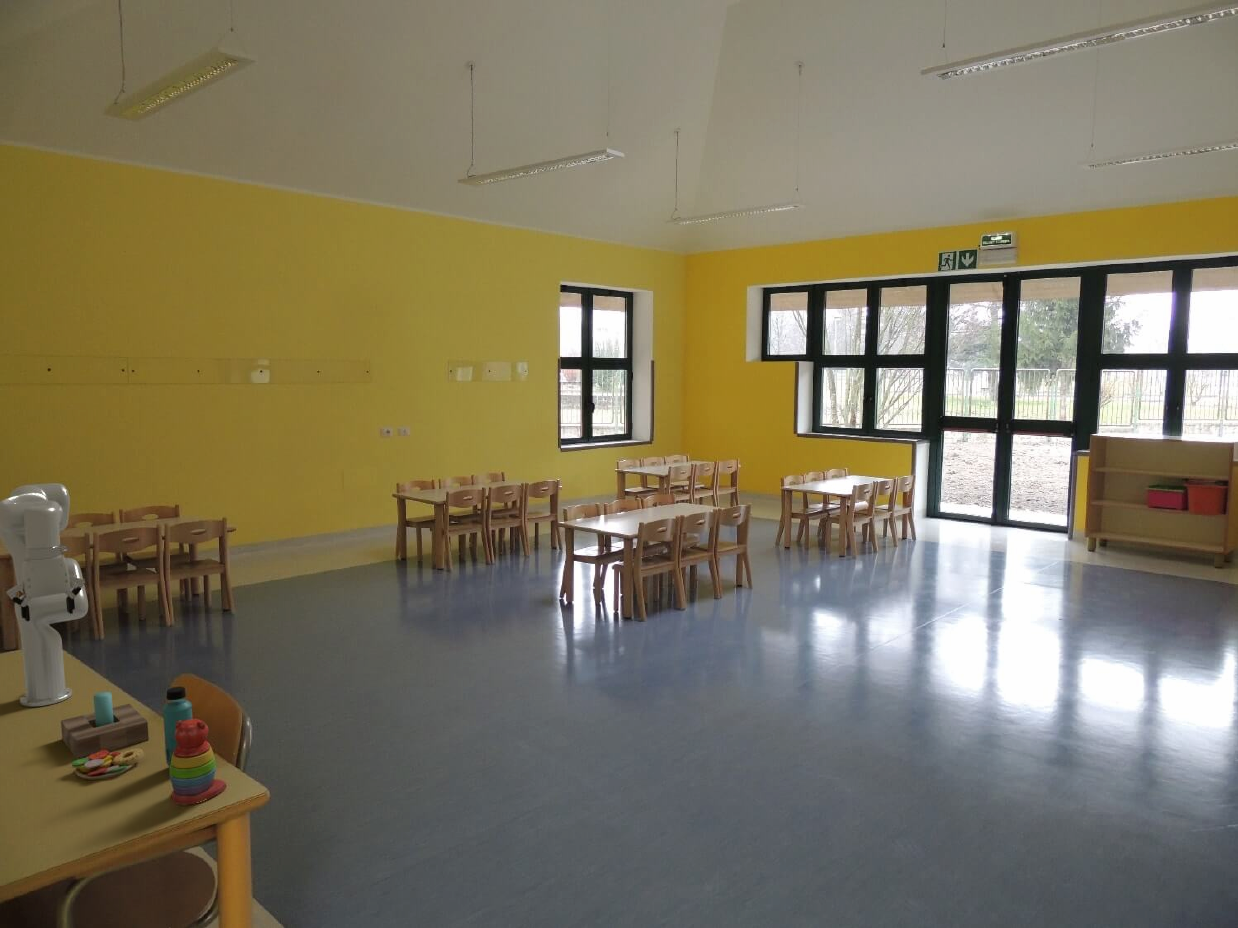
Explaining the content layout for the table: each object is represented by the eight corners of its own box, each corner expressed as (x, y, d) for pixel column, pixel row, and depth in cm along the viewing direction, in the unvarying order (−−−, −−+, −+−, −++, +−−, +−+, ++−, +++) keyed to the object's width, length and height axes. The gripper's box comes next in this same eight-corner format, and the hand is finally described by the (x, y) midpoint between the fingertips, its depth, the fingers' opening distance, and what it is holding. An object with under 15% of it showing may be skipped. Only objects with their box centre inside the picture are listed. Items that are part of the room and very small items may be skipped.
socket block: (62, 738, 226) (60, 720, 225) (130, 721, 237) (129, 703, 236) (77, 759, 214) (76, 740, 213) (148, 739, 225) (147, 721, 225)
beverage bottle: (202, 764, 212) (197, 685, 209) (178, 776, 206) (173, 695, 203) (183, 759, 214) (179, 681, 212) (159, 770, 208) (154, 690, 206)
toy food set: (151, 760, 214) (150, 748, 214) (106, 786, 202) (105, 772, 201) (107, 754, 218) (106, 741, 217) (61, 778, 205) (60, 765, 205)
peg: (95, 739, 225) (91, 694, 224) (112, 734, 228) (109, 690, 227) (99, 744, 223) (95, 699, 221) (116, 739, 225) (113, 695, 224)
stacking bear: (230, 785, 202) (226, 711, 200) (205, 807, 192) (200, 730, 190) (186, 782, 203) (181, 709, 201) (159, 804, 193) (154, 728, 191)
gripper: (78, 545, 236) (82, 606, 238) (1, 555, 224) (6, 620, 226) (85, 550, 231) (90, 612, 233) (6, 560, 219) (12, 626, 221)
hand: (49, 616), depth 230 cm, fingers open, 9 cm apart
